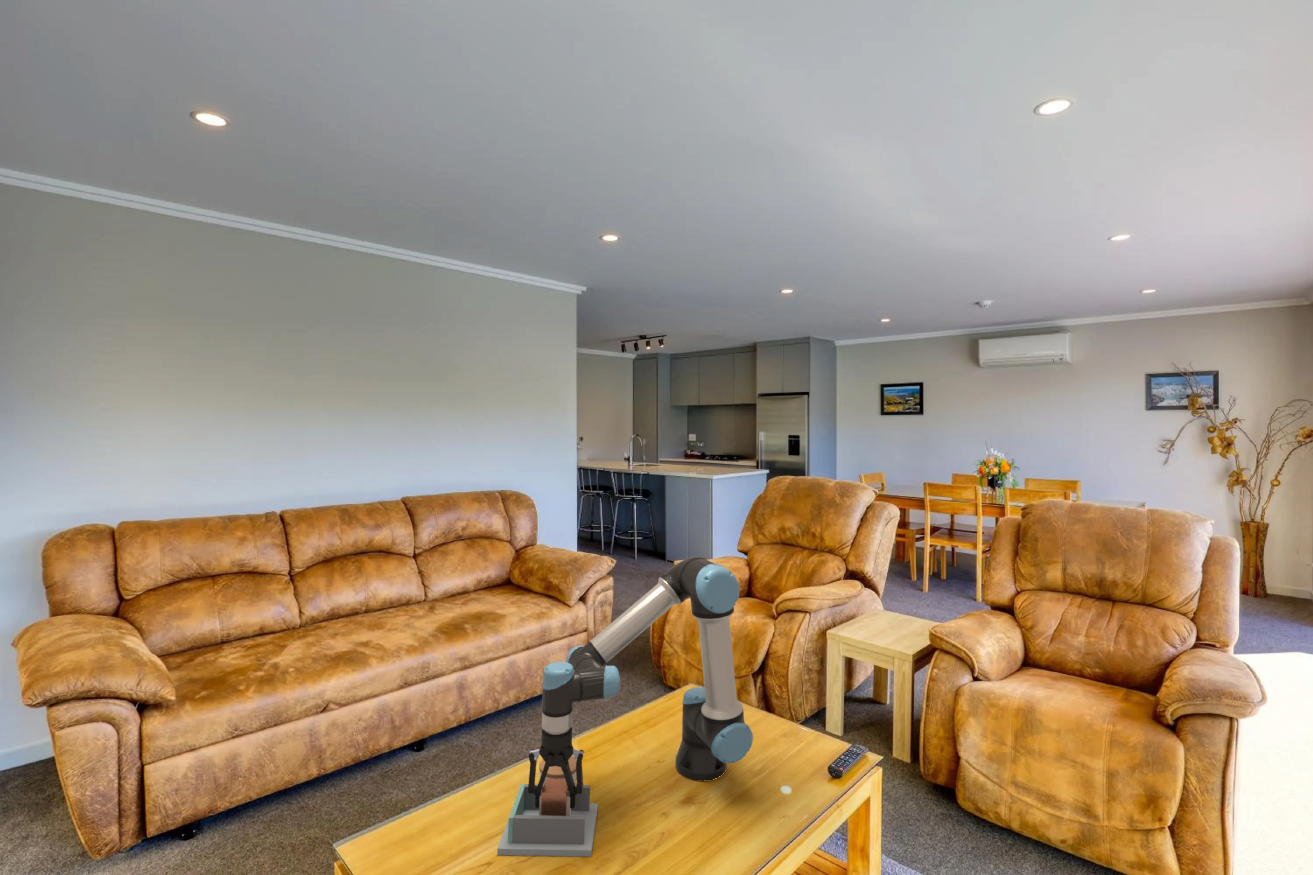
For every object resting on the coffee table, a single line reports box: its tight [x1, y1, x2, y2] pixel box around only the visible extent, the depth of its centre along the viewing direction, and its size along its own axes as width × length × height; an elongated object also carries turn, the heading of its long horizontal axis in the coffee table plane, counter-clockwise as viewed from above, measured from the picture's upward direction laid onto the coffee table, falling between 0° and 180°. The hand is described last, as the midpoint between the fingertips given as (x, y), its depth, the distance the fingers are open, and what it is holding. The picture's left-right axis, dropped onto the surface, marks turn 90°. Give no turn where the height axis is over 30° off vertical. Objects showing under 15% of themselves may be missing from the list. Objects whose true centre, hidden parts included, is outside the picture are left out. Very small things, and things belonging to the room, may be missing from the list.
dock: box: [496, 783, 599, 858], centre depth 152 cm, size 22×18×8 cm
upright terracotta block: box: [541, 779, 569, 816], centre depth 153 cm, size 6×6×9 cm
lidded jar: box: [538, 755, 577, 785], centre depth 169 cm, size 11×11×9 cm
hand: (555, 819), depth 153 cm, fingers closed on upright terracotta block, 6 cm apart
